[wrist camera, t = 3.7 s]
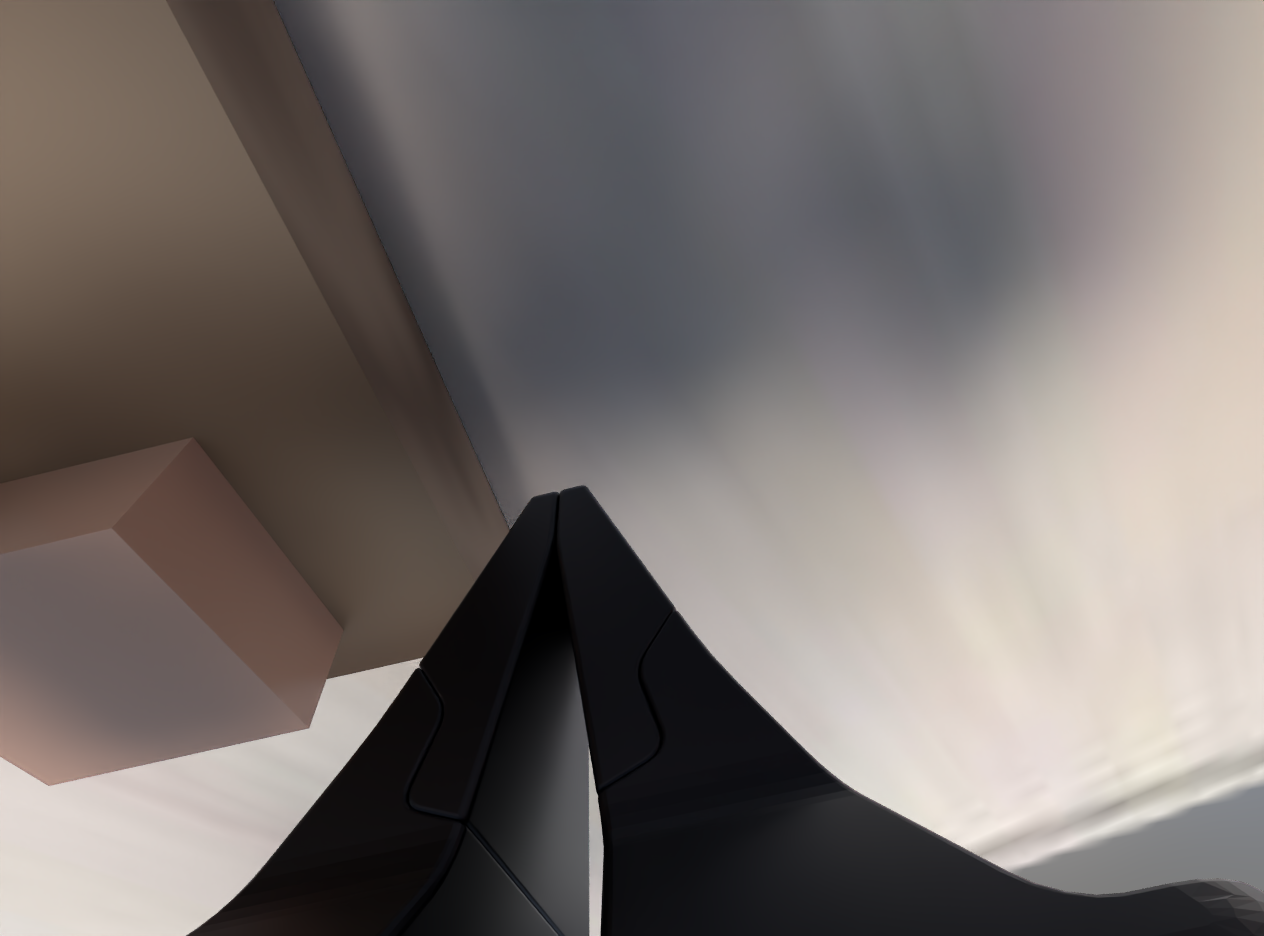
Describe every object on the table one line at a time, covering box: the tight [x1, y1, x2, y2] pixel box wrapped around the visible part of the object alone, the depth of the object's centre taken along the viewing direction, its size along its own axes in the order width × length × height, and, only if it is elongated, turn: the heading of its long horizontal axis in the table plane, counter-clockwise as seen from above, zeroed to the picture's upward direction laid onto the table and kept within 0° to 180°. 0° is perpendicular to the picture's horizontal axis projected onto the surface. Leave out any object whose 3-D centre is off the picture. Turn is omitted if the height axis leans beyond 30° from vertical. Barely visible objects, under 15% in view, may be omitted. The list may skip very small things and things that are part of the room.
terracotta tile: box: [0, 437, 344, 786], centre depth 9 cm, size 4×4×2 cm
